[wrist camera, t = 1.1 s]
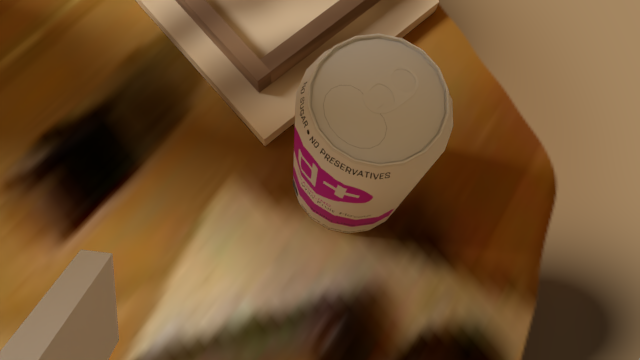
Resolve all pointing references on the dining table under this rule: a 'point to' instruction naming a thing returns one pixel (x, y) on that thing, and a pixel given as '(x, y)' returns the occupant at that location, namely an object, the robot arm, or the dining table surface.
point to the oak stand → (272, 45)
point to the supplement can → (367, 130)
